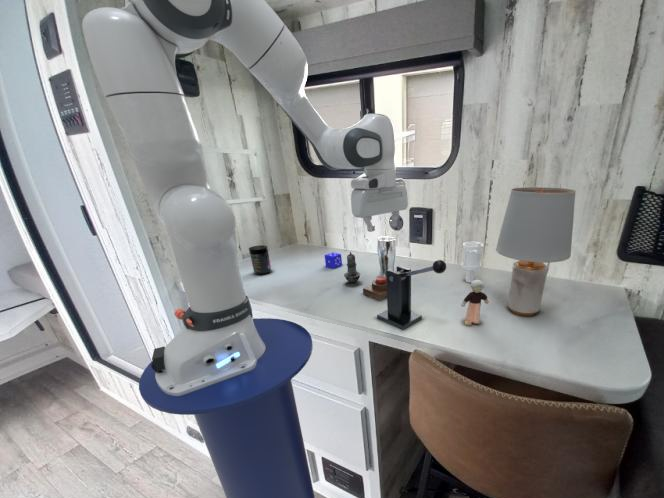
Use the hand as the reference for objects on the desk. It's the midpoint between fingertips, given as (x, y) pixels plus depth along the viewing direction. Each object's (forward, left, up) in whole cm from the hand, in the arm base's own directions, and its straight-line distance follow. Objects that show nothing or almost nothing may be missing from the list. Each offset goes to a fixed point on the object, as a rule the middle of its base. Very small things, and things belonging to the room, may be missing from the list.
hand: (382, 228), depth 94 cm
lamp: (+18, -39, -22) cm, 49 cm away
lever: (-10, -22, -8) cm, 26 cm away
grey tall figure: (-1, +16, -22) cm, 27 cm away
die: (+7, +38, -22) cm, 45 cm away
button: (0, +2, -18) cm, 19 cm away
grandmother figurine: (+2, -32, -22) cm, 39 cm away
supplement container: (-17, +53, -22) cm, 60 cm away
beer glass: (+12, +11, -22) cm, 28 cm away
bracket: (-10, -15, -22) cm, 28 cm away
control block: (0, +2, -22) cm, 22 cm away
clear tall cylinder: (+29, -15, -22) cm, 40 cm away
